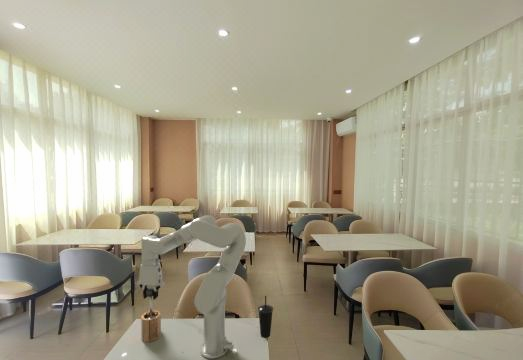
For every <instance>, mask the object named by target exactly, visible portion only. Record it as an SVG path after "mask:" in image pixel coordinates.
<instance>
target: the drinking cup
mask: <svg viewBox="0 0 523 360" xmlns="http://www.w3.org/2000/svg"><path fill="white" fill-rule="evenodd" d="M257 311H258V319H259V320H258V321H259V329H260V330H259V331H260V332H259V333H260V336H261V338H265V339H267V338H266V337H268V338H270V336H271V332H272V322H273V321H272V320H273V319H272V318H273V312H274V307H273V306H272V305H270V304H267V295H265V296H264V304H261V305H259V306H258V308H257Z"/></svg>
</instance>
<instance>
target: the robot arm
mask: <svg viewBox="0 0 523 360" xmlns="http://www.w3.org/2000/svg"><path fill="white" fill-rule="evenodd" d="M217 224H218V223H217V220H216V218H215V217H214V216H213V215H210V214H209V215H208V214H205V215H202V216H200V217H197V218H195V219H193V220H192V221H190V222H187V223H186V224H184V225H182V226H181V227H180V229H178V230H175V231H173V232H172V233H169V234H166V235H163V236H162V237H159V238H158V236H157V235H145V236H144V237H142V238H141V242H140V243H141V264H140V265H139V266H140V267H139V273H138V280H137V281H136V285H138V286H139V288H140V289H141V291H142V296H143V299H146V298H149V297H148V296H146V289H147V288H148V286H152V287H153V288H154V291H153V296H152V300H155V301H156V299H157V298H158V296H159V289H160V288H162V287H163V286H165V282H164V281H163V270H162V266H161V262H162V261H161V259H159V255H163V254H165V253H168V252H170V251H171V250H173V249H176V248H177V247H179V246H182V245H184V244H187V243H188V244H189V243H193V242H194V241H196V240H198V241H201V242H203V243H205V244H209V245H210V246H213V247H216V248H219V249H223V251H222V253H221V255H220V258H219V259H218V262H217V263H216V265H214V266H213V267H212V268H211V269H209V271H207V273H206V274H205V275H204V277H203V279H202V281H201V284H200V286H199V288H198V290H197V292H196V294H195V296H194V303H193V304H194V306H195V307H194V308H195V310H196V311H197V313H200V314H202V315H203V343H202V344H201V346H200V354H201V355H202V356H203V357H204V358H207V359H211V360H213V359H218V358H221V357H223V356H224V355H226V353H227V352H228V350H234V347H235V345H234V344H233V340H232V341H230V340H229V341H228V340H227V338H228V337H227V336H226V335H225V334H226V329H225V328H226V324H225V323H226V317H225V316H226V312H225V311H226V301H227V300H226V299H227V287H226V286H228V284H229V283H230V282H231V281H232V280H233V277H234V274H235V272H236V271H237V268H238V265H239V264H240V261H241V259H242V256H243V254H244V252H245V249H246V244H247V237H246V233H245V230H244V229H243V228H242V226H241V225H240V224H238V223H237V222H229V223H226V224H224V225H222V226H218V225H217Z"/></svg>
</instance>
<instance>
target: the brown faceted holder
mask: <svg viewBox="0 0 523 360" xmlns="http://www.w3.org/2000/svg"><path fill="white" fill-rule="evenodd" d="M152 315H154V316H156V317H155V318H151V319H146V318H147V317H148V316H150V310H148V311H146V312H144V313H143V314H142V315H141V316H140V318H141V320H140V323H141V324H140V325H141V327H140V329H141V330H140V331H141V341H142V342H143V343H152V342H155V341H158V340H159V338H161V334H162V330H161V329H162V323H161V321H162V319H161V317H162V315H161V312H160V310H154V309H152Z"/></svg>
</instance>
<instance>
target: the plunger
mask: <svg viewBox="0 0 523 360" xmlns="http://www.w3.org/2000/svg"><path fill="white" fill-rule="evenodd" d="M153 291H154V288H153V286H151V287H147V289H146V296H148V297H147V298H149V299H148V300H149V311H150V316H148V317H147V318H146V319H151V318H155V317H156V316H154V315H152V311H153Z"/></svg>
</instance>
